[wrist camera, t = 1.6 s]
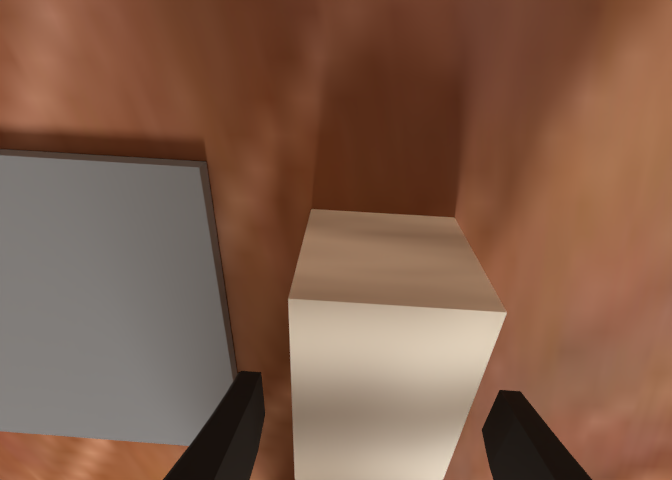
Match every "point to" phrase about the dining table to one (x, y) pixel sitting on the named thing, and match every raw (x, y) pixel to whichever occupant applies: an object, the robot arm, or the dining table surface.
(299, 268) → the pale wooden block
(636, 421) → the dining table surface
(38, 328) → the rubber mat
